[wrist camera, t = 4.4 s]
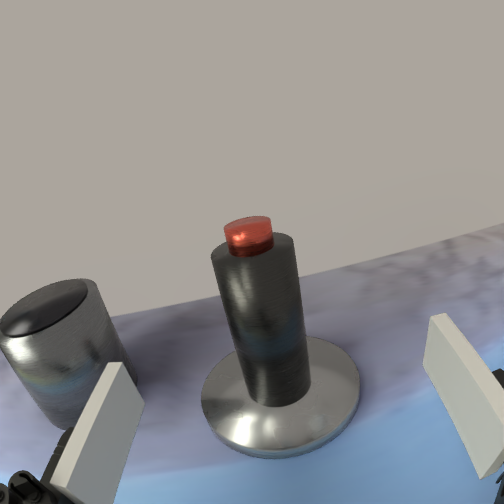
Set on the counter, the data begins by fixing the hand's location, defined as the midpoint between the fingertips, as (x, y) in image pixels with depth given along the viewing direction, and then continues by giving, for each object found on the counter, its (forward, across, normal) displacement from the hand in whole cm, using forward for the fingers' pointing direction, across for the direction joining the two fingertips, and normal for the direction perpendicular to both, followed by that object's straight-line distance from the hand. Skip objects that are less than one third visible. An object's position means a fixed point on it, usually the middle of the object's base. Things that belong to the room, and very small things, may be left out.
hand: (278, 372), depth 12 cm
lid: (+5, 0, -7) cm, 8 cm away
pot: (+6, -16, -7) cm, 18 cm away
